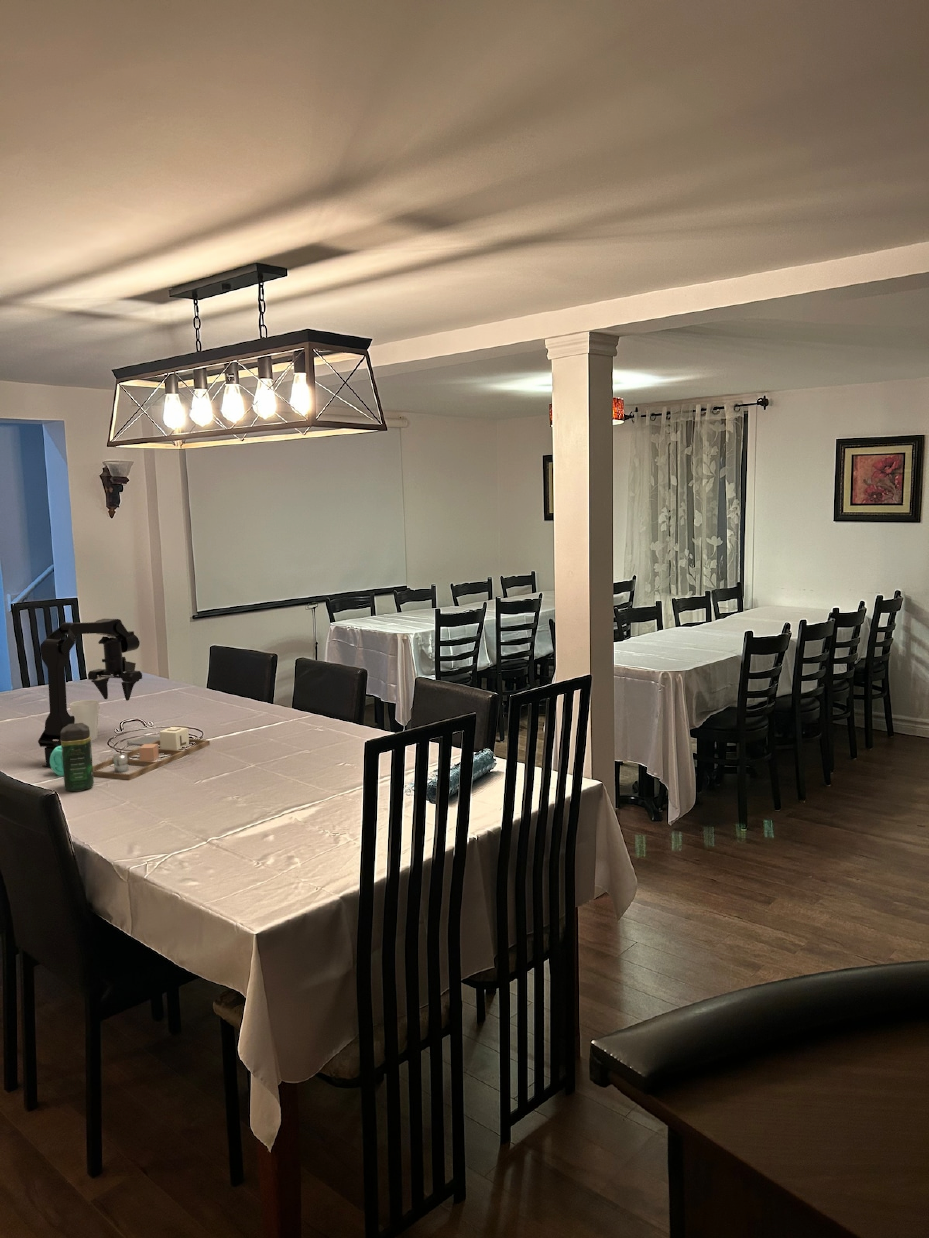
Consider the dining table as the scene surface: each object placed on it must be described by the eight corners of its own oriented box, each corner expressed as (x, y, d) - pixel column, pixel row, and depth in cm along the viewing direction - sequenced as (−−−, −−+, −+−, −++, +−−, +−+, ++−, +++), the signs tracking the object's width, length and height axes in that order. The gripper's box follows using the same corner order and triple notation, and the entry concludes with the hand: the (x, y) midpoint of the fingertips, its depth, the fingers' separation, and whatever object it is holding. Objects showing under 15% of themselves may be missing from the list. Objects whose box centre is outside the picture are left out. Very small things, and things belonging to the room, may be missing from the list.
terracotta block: (154, 761, 287) (153, 747, 286) (140, 761, 287) (138, 748, 286) (158, 757, 291) (157, 743, 291) (145, 757, 291) (143, 744, 291)
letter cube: (177, 752, 297) (175, 732, 296) (160, 750, 299) (159, 731, 298) (189, 746, 303) (188, 727, 302) (173, 745, 305) (172, 726, 304)
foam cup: (77, 743, 310) (74, 707, 308) (69, 738, 317) (66, 702, 315) (105, 738, 316) (102, 702, 314) (97, 733, 323) (94, 698, 321)
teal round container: (90, 769, 280) (88, 744, 279) (72, 776, 273) (70, 751, 271) (68, 767, 282) (66, 742, 281) (50, 775, 275) (48, 749, 274)
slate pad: (148, 746, 304) (148, 744, 304) (127, 744, 307) (127, 742, 307) (166, 739, 313) (166, 737, 312) (145, 737, 316) (145, 736, 316)
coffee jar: (94, 790, 259) (88, 727, 257) (64, 793, 257) (58, 730, 254) (95, 780, 268) (89, 719, 266) (66, 784, 266) (60, 722, 263)
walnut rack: (129, 779, 268) (129, 775, 268) (82, 775, 274) (82, 770, 274) (209, 744, 304) (209, 740, 304) (166, 741, 310) (166, 736, 310)
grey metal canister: (122, 773, 275) (120, 757, 274) (111, 772, 276) (110, 756, 275) (131, 769, 278) (130, 753, 278) (120, 768, 280) (119, 752, 279)
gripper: (151, 652, 312) (154, 696, 314) (108, 650, 318) (111, 693, 321) (129, 657, 302) (132, 703, 304) (84, 655, 308) (88, 700, 310)
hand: (116, 699), depth 310 cm, fingers open, 9 cm apart
